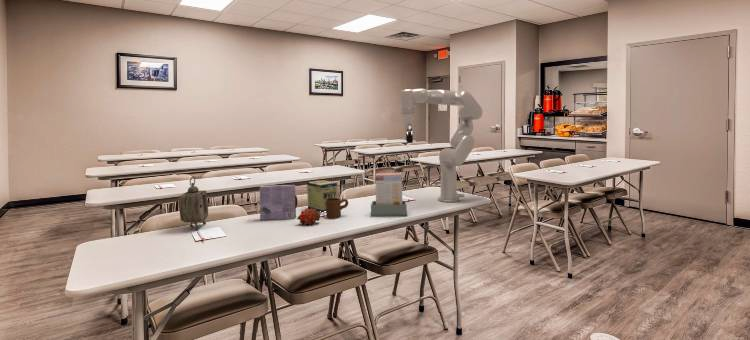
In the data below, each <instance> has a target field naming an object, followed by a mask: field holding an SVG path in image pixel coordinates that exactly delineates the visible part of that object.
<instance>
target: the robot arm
mask: <svg viewBox="0 0 750 340" xmlns="http://www.w3.org/2000/svg"><path fill="white" fill-rule="evenodd" d="M400 100H401V101H400V103H401V107H400V108H401V115H403V131H404V133H406V134H405V138H406V139H405V141H406V142H407V144H410V143H411V144H412V143H414V142H413V141H414V139H413V132H414V115H416V106H415V105H416V103H417V104H418V103H420V104H431V105H443V106H456V107H457V106H459V107H460V106H461V107H460V108H459V110H458V117H459V126H458V127H457V129H456V131H455V133H454V134H453V136H451V139H450V142H449V145H450V146H451V148H450V147H446V148H443V149H442V150H440V152H439V154H438V159H439V165H440V196H438V198H437V200H438V202H443V203H456V202H459V201H460V198H465V193H464V194H462V193H458V191H457V185H458V184H457V177H458V176H457V174H458V173H457V166H461V165H463V164H464V163H465V161H466V160H467V158H468V157H469V155H470V154H471V152H472V150H473V148H474V146H475V138H474V137H473V136H472V135H471V134H473V131H474V122H473V121H475V120H479V119H480V118H481V117H483V108H482V107H481V105H480V104H479V102H478V101H477V99H476V98H475V97H474V96H473V95H472V94H471V92H469V91H467V90H448V89H428V90H427V89H426V88H413V89H410V88H409V89H402V90H401V91H400Z"/></svg>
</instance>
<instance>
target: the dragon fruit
mask: <svg viewBox="0 0 750 340" xmlns="http://www.w3.org/2000/svg"><path fill="white" fill-rule="evenodd" d="M320 218H321V212H318V210H315V209H314V210H313V209H312V208H311V209H308V208H305V209H304V210H301V212H300V214H299V216H297V217H296V220H298V221H299V223H300V224H301V225H309V226H310V225H314V224H316V222H317V221H320Z"/></svg>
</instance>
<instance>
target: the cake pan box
mask: <svg viewBox="0 0 750 340" xmlns="http://www.w3.org/2000/svg"><path fill="white" fill-rule="evenodd" d="M297 206H298V197H297V194H296V185H295V184H280V185H279V184H277V185H276V184H275V185H260V186H259V219H260V221H274V220H275V221H277V220H281V221H282V220H295V219H294V218H296V219H297Z"/></svg>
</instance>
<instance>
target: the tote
mask: <svg viewBox="0 0 750 340" xmlns="http://www.w3.org/2000/svg"><path fill="white" fill-rule="evenodd" d="M407 203H408V202H407V200H402V204H403V205H376V200H372V201H371V204H370V216H371V217H407V216H408V213H407V211H408V210H407V206H408V204H407Z"/></svg>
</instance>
